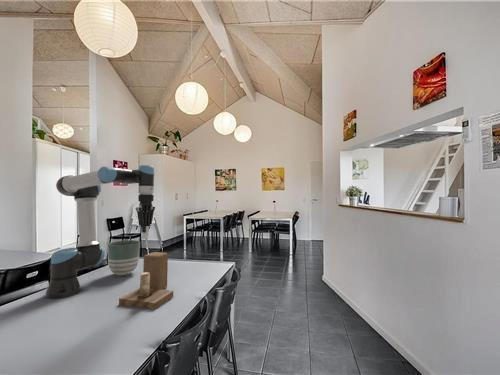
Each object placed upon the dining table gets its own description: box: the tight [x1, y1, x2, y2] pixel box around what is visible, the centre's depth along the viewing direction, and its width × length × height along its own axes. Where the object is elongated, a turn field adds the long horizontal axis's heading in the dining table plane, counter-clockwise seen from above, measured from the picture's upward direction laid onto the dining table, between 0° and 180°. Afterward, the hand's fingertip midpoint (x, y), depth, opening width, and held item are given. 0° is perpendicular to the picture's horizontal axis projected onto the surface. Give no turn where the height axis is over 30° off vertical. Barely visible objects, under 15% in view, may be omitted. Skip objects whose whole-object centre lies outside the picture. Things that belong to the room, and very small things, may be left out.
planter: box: [107, 239, 141, 277], centre depth 172 cm, size 20×20×21 cm
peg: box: [139, 272, 150, 299], centre depth 126 cm, size 5×5×14 cm
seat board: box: [118, 287, 174, 310], centre depth 128 cm, size 20×16×3 cm
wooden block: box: [142, 251, 169, 290], centre depth 144 cm, size 10×10×20 cm
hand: (145, 238), depth 134 cm, fingers closed
